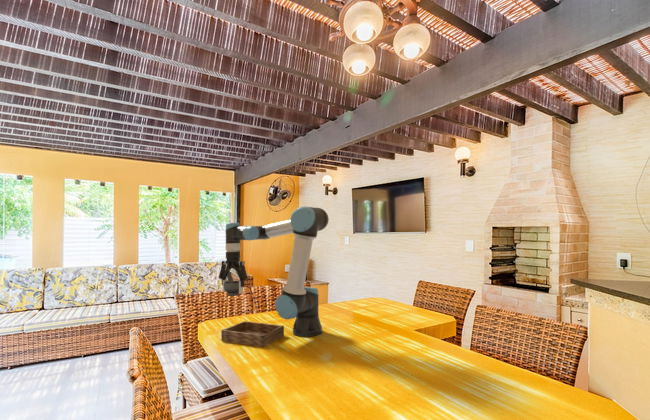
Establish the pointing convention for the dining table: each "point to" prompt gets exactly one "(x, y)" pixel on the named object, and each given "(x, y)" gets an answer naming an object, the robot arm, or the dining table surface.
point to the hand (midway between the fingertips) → (233, 292)
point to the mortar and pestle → (231, 286)
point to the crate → (252, 333)
